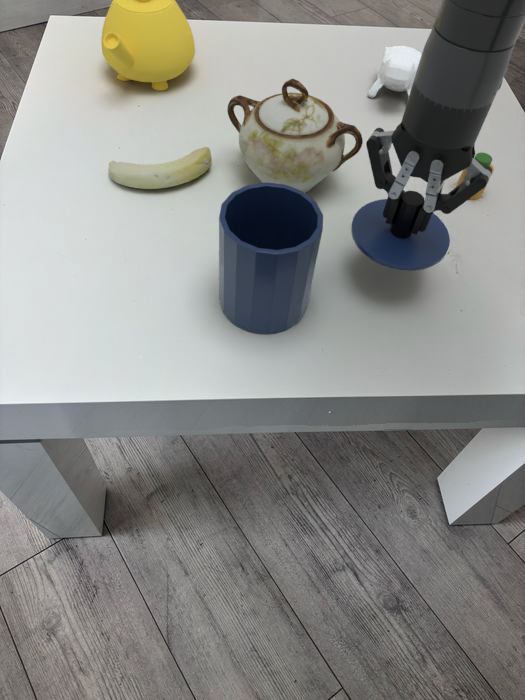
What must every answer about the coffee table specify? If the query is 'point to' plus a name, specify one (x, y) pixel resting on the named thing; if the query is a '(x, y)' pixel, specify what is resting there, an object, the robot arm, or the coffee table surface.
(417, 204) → the lid
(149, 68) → the teapot
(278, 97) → the sugar bowl
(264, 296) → the pot
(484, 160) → the yellow and green cylinder
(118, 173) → the fruit
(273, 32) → the coffee table surface
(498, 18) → the robot arm
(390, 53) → the white animal figurine
